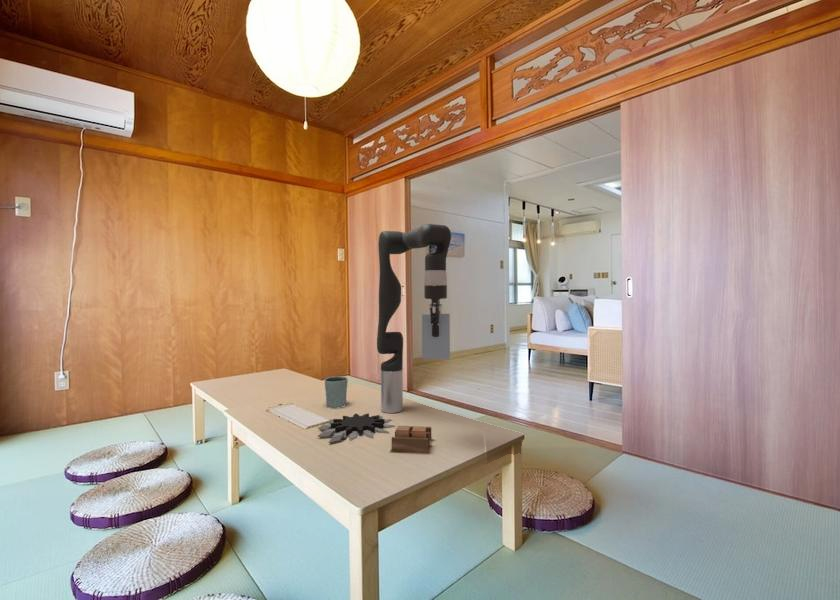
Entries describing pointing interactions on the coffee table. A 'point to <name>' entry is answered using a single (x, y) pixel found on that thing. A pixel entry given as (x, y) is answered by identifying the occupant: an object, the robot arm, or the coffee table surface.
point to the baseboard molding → (299, 416)
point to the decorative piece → (354, 427)
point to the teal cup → (336, 391)
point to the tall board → (436, 338)
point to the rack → (412, 443)
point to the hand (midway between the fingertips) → (436, 335)
